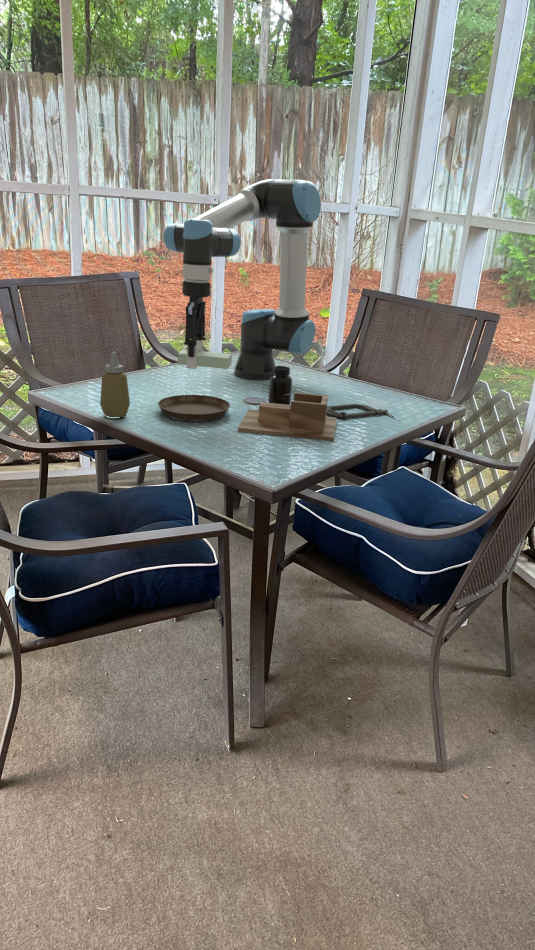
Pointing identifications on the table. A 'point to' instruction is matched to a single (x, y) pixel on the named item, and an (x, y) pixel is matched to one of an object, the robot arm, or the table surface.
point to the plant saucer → (194, 407)
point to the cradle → (292, 418)
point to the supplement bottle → (280, 386)
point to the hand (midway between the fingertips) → (194, 365)
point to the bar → (208, 359)
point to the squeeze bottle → (114, 389)
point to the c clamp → (350, 406)
